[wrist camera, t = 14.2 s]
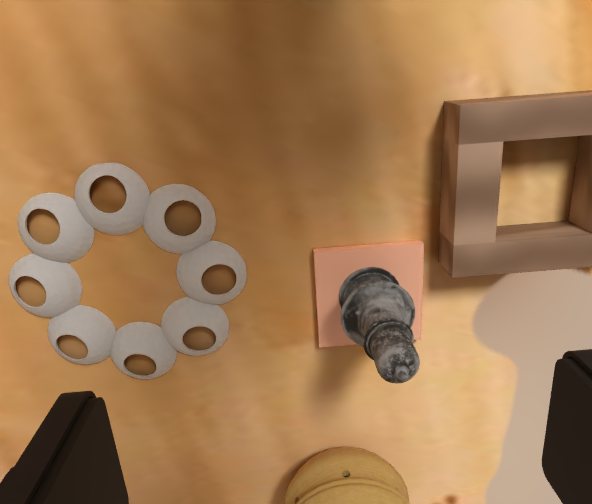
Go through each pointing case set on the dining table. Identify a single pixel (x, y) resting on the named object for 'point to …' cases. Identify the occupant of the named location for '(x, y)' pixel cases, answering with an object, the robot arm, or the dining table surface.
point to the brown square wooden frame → (486, 184)
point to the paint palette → (136, 212)
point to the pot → (347, 480)
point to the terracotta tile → (347, 259)
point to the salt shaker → (380, 321)
